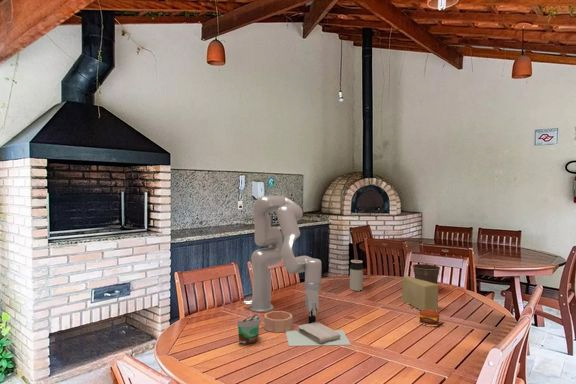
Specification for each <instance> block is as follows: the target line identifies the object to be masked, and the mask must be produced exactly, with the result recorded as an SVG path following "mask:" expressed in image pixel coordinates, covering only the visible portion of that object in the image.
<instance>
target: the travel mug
mask: <svg viewBox="0 0 576 384" xmlns="http://www.w3.org/2000/svg"><path fill="white" fill-rule="evenodd" d="M350 263H351V264H350V265H349V290H350V289H351V291H352V290H355V291H354V292H361V291H363V287H364V285H363V281H364V265H363V260H359V259H351V260H350ZM360 290H361V291H360Z"/></svg>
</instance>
